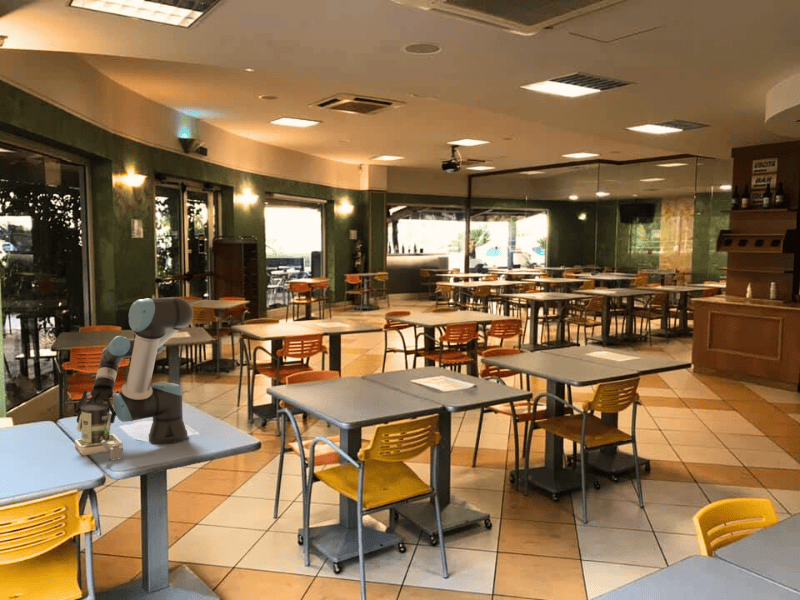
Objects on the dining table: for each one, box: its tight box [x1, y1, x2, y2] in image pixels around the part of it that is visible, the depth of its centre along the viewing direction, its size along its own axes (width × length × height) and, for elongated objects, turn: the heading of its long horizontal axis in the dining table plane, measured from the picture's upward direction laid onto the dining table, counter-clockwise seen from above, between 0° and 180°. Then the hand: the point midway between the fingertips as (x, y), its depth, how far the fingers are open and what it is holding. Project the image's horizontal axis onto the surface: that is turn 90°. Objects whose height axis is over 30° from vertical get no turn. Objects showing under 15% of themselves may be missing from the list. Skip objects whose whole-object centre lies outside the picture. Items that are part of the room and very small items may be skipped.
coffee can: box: [81, 402, 111, 445], centre depth 265 cm, size 10×10×14 cm
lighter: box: [101, 440, 123, 461], centre depth 250 cm, size 7×2×8 cm, turn 129°
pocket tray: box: [74, 433, 124, 456], centre depth 264 cm, size 15×15×3 cm
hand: (93, 430), depth 262 cm, fingers closed on coffee can, 10 cm apart
